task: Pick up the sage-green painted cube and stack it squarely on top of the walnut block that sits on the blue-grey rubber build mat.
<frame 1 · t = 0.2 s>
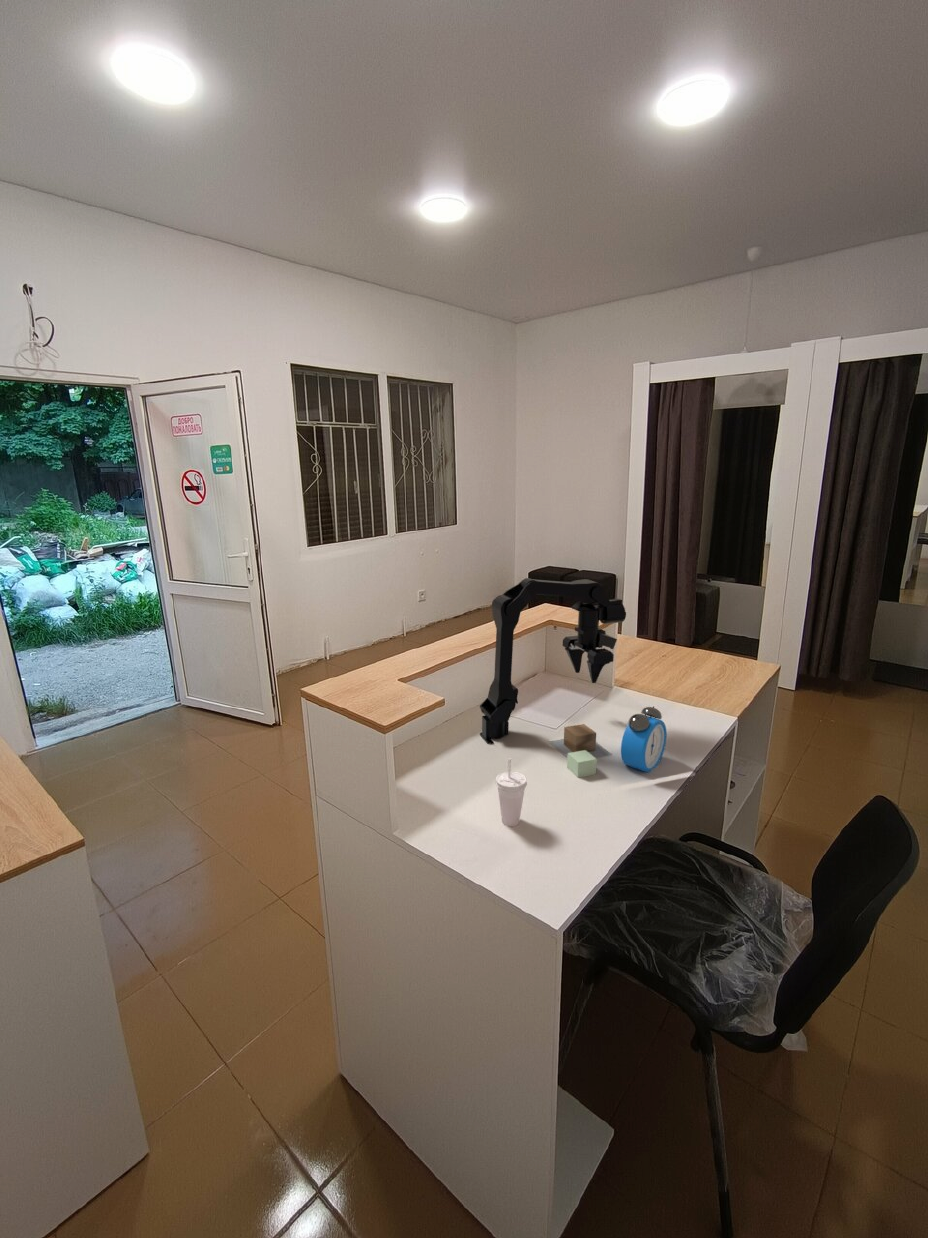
hand: (585, 677, 162), 15 cm above the table, fingers open, 9 cm apart
build mat: (579, 751, 149), on the table
smoothie: (510, 821, 118), on the table
alarm clock: (641, 768, 140), on the table
walnut block: (579, 747, 148), point 1 cm above the table, touching build mat
sage cube: (581, 775, 137), on the table
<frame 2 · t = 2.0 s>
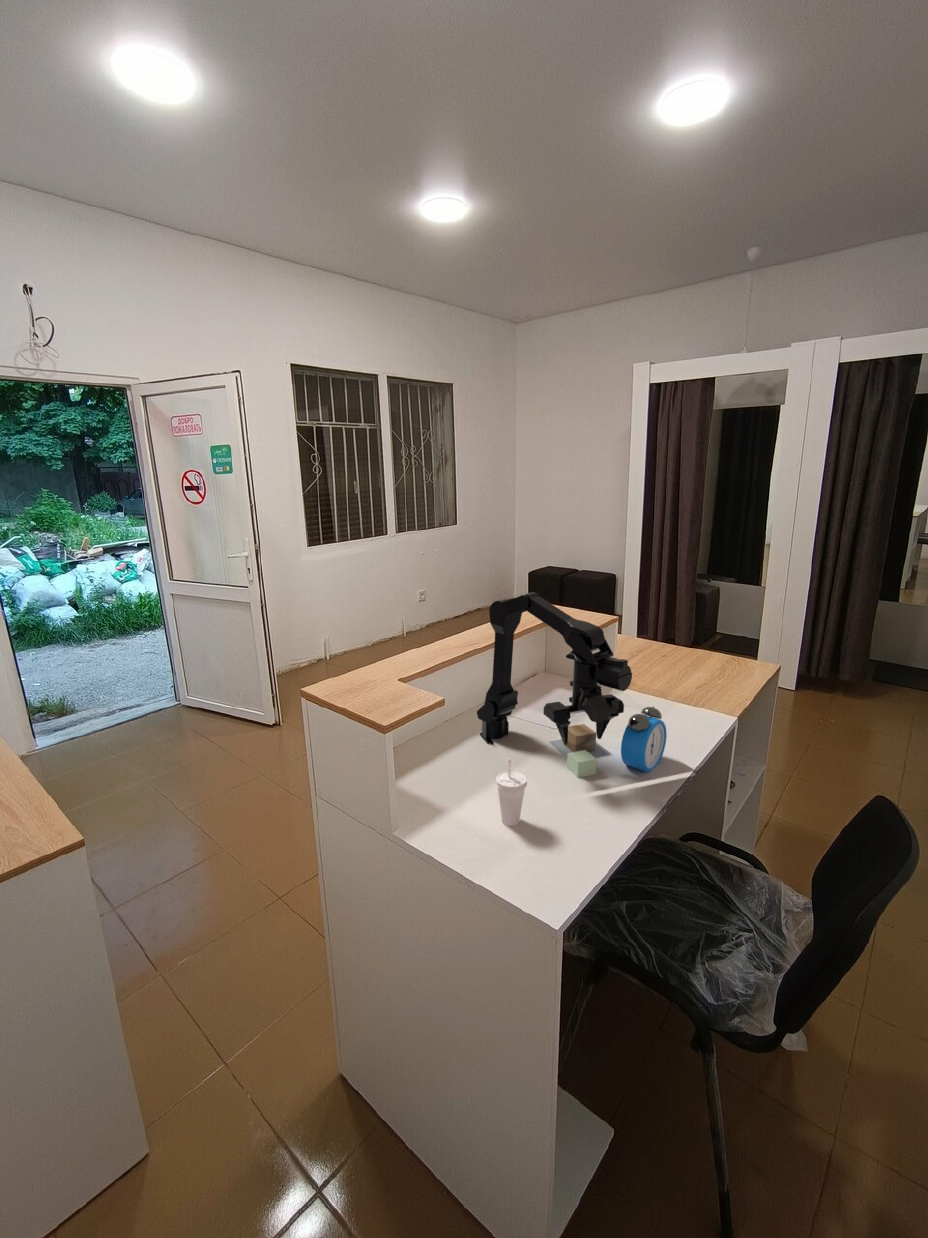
hand: (582, 741, 135), 9 cm above the table, fingers open, 9 cm apart
nothing on the table moved.
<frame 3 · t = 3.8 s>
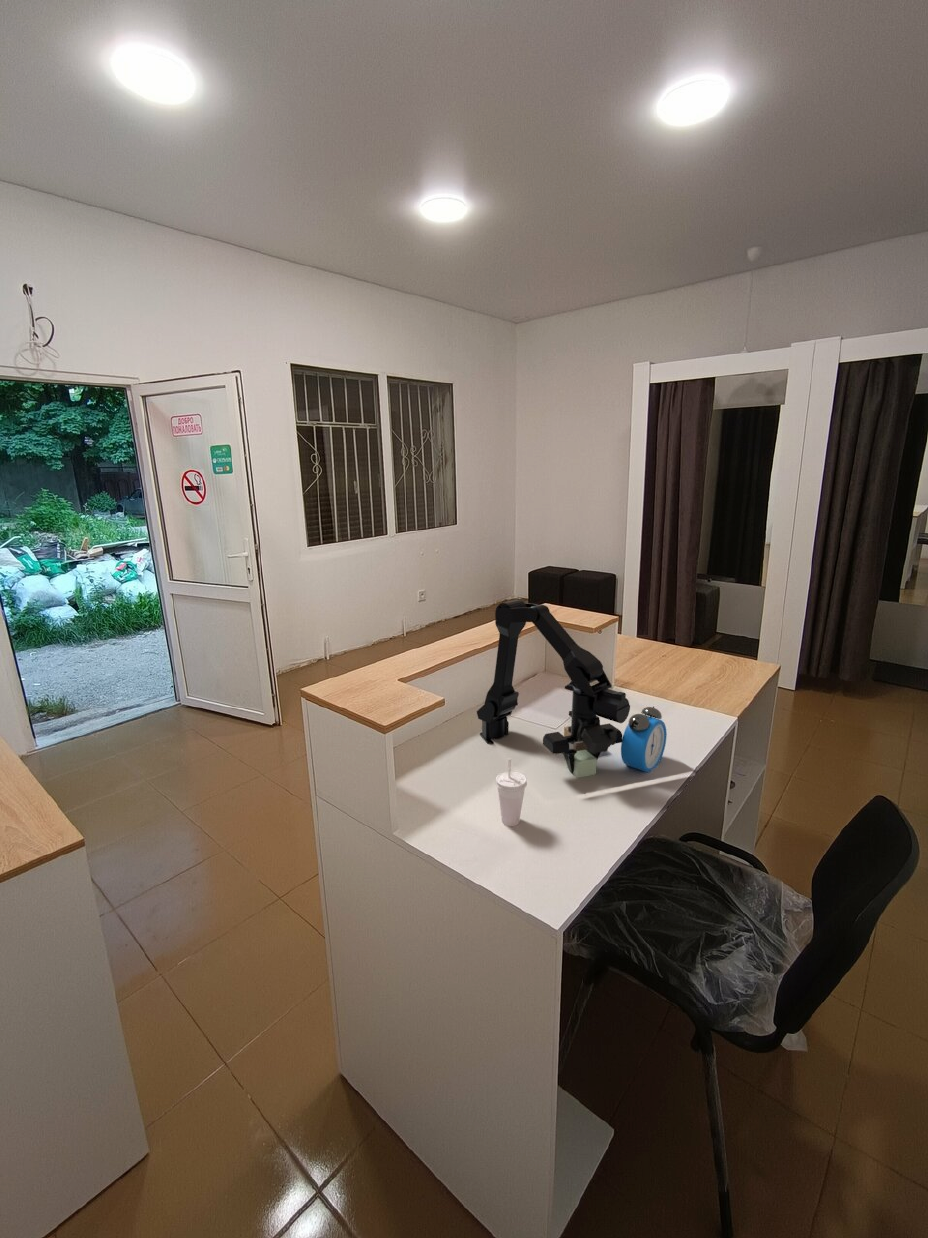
hand: (581, 770, 136), 1 cm above the table, fingers closed on sage cube, 5 cm apart
sage cube: (581, 774, 137), on the table, touching gripper
everything else where it was.
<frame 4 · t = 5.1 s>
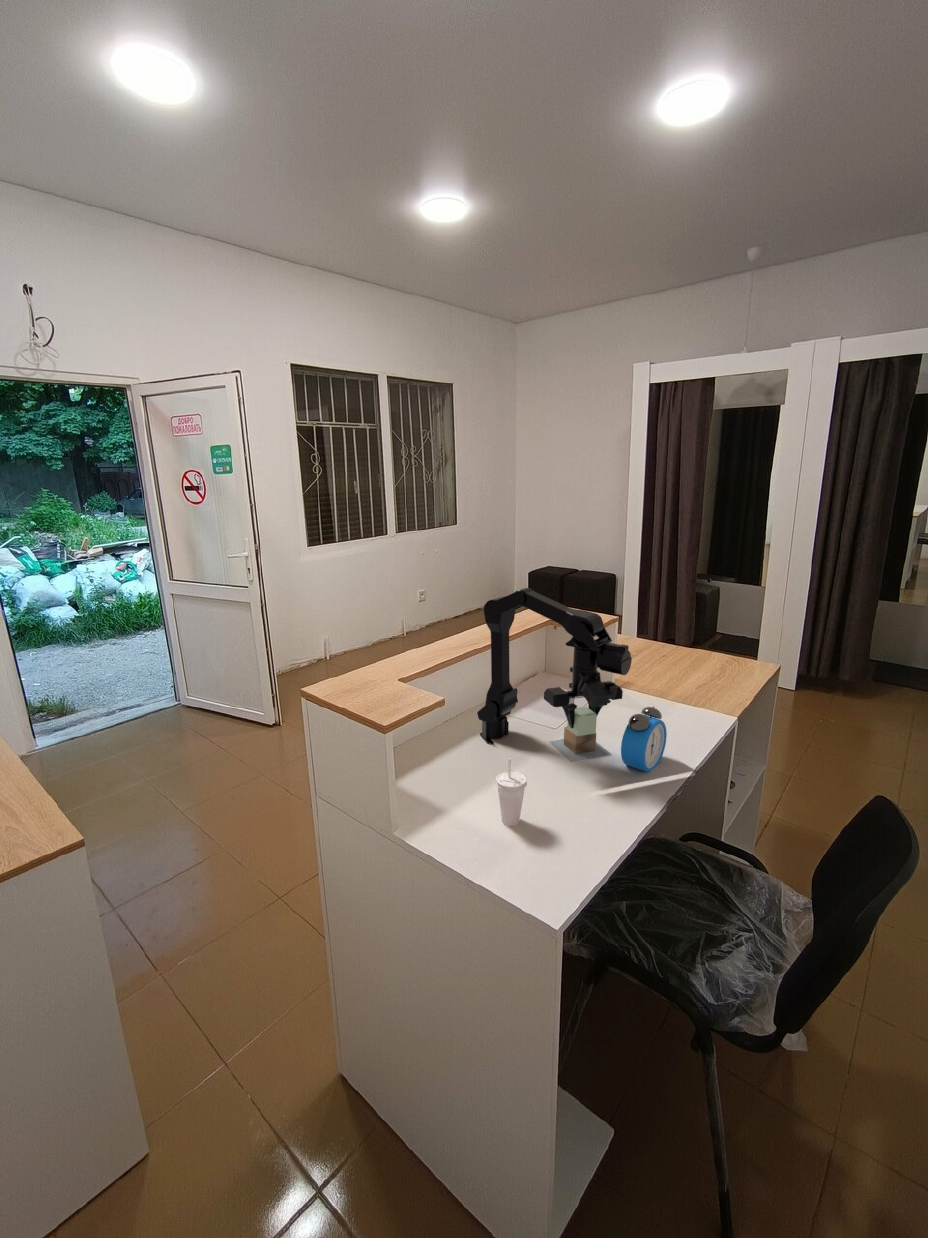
hand: (581, 726, 138), 11 cm above the table, fingers closed on sage cube, 5 cm apart
sage cube: (581, 730, 138), point 10 cm above the table, touching gripper
everything else where it was.
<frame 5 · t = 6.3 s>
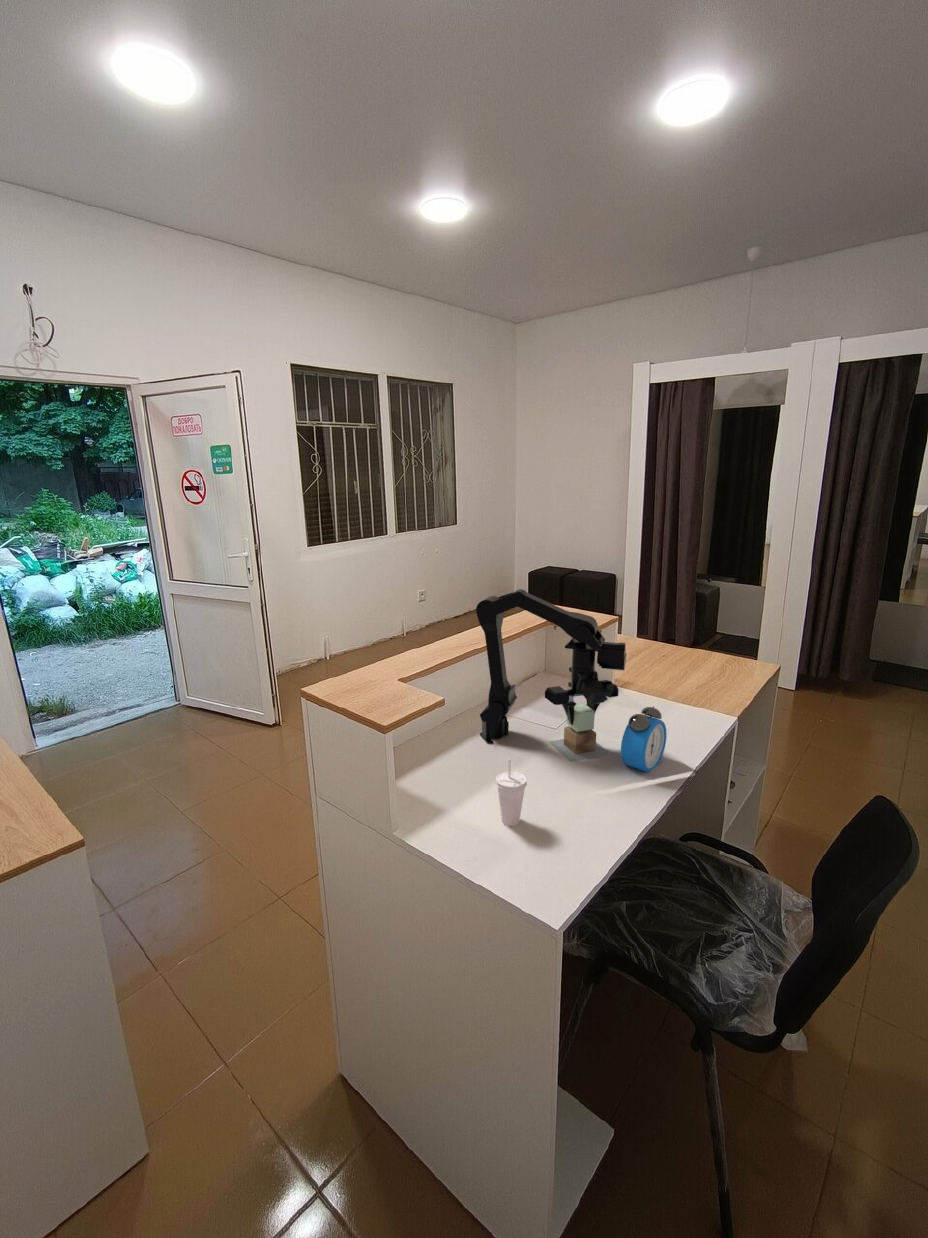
hand: (580, 722, 147), 8 cm above the table, fingers closed on sage cube, 5 cm apart
sage cube: (580, 726, 147), point 7 cm above the table, touching gripper
everything else where it was.
when the fingers open (8 cm above the table, at t = 6.9 s): sage cube stays where it is, resting on walnut block.
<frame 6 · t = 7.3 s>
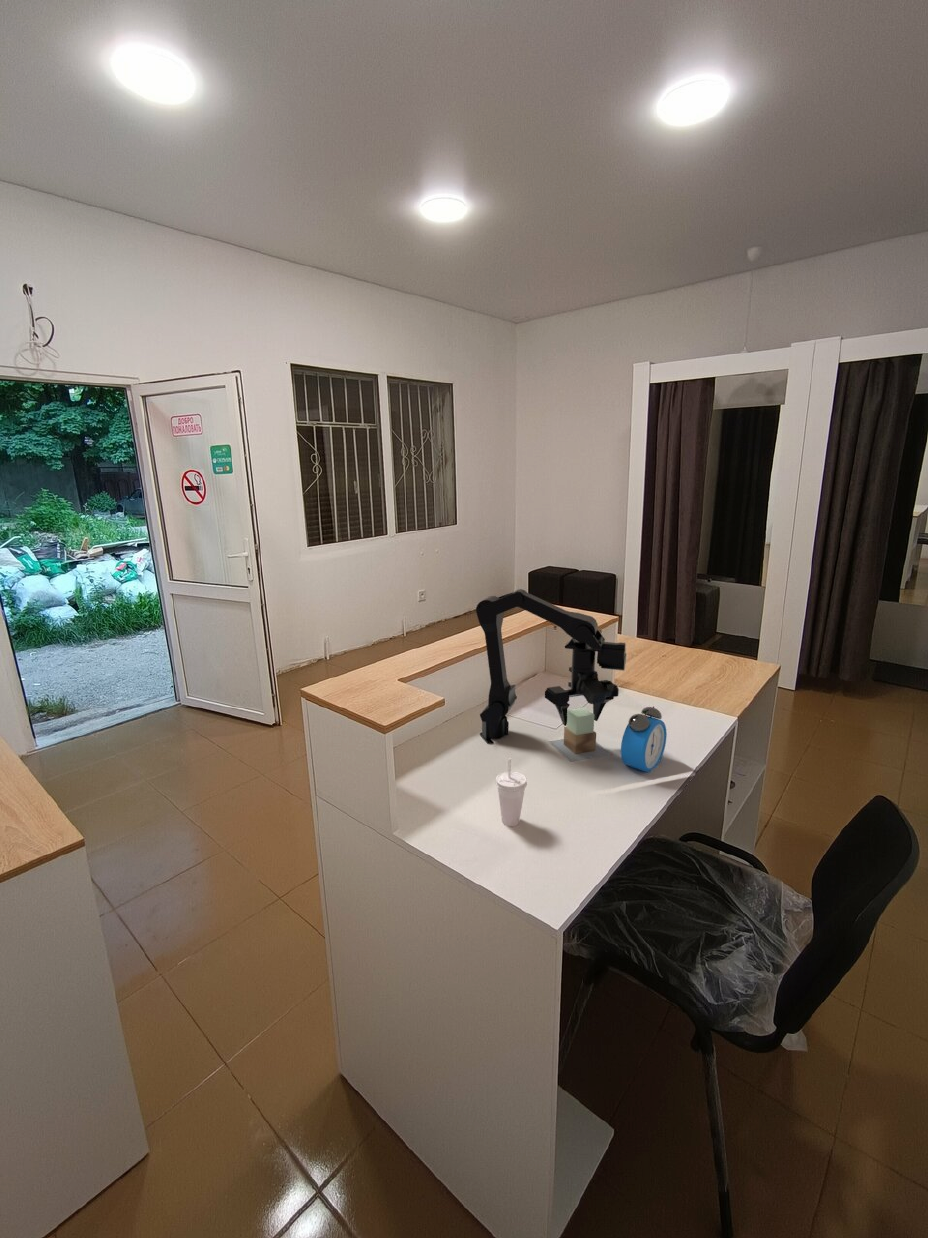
hand: (580, 722, 147), 8 cm above the table, fingers open, 9 cm apart
walnut block: (579, 747, 148), point 1 cm above the table, touching build mat, sage cube
sage cube: (579, 730, 147), point 6 cm above the table, touching walnut block
everything else where it was.
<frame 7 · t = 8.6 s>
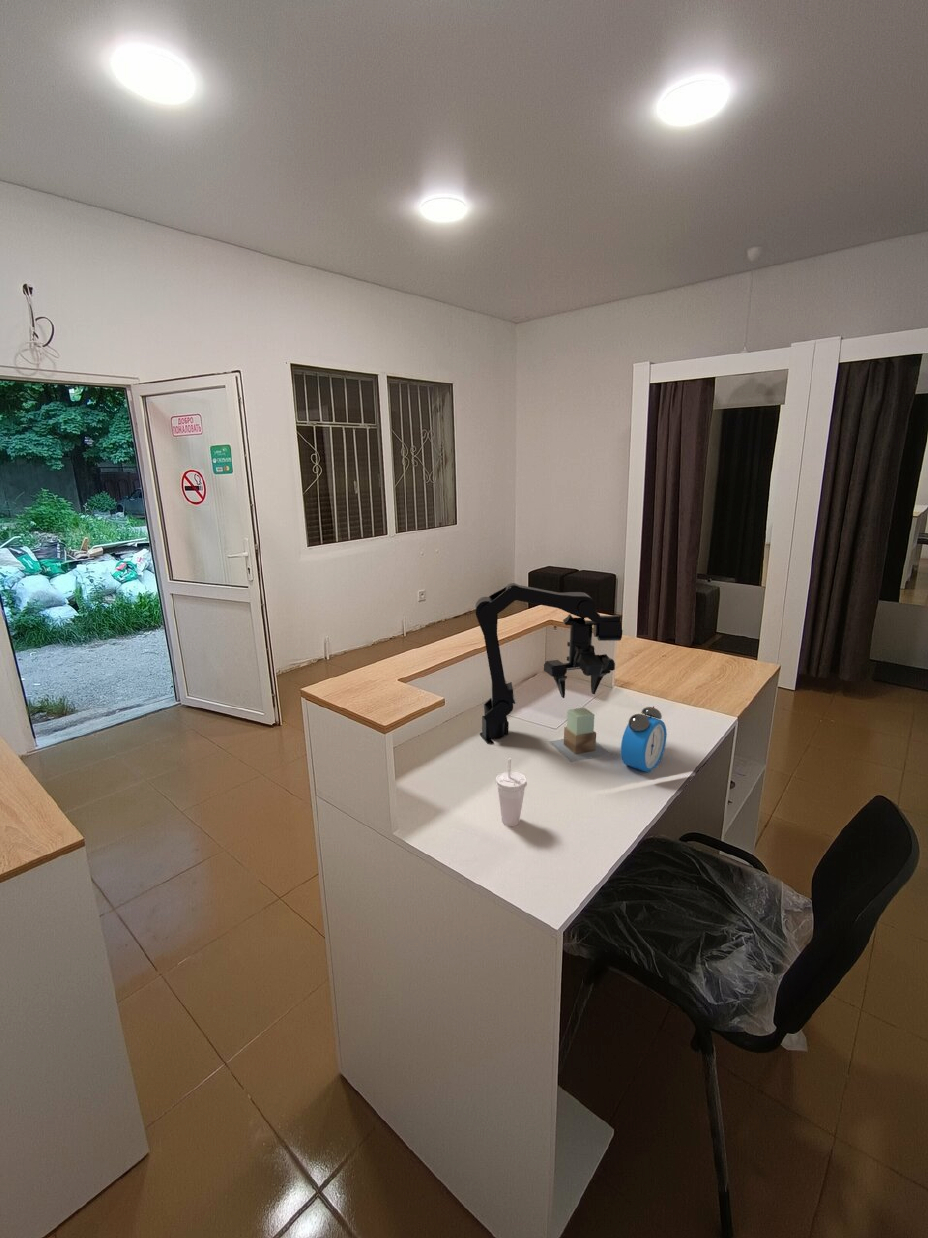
hand: (578, 695, 153), 12 cm above the table, fingers open, 9 cm apart
nothing on the table moved.
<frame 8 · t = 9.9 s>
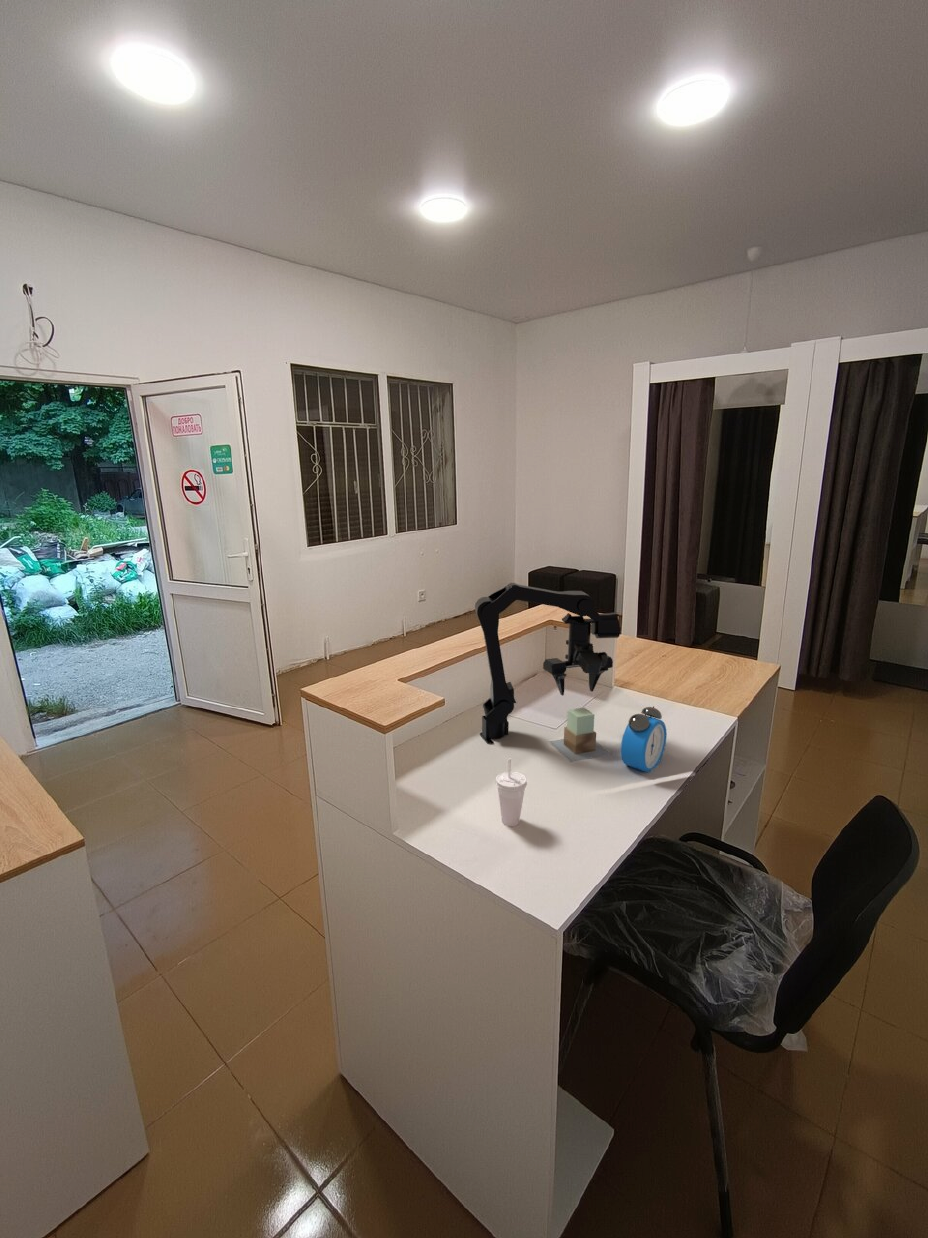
hand: (576, 693, 155), 12 cm above the table, fingers open, 9 cm apart
nothing on the table moved.
at the end: sage cube 0.1 cm off-centre on the walnut block, point 5.0 cm above the walnut block's base; sage cube tilted 0°; the gripper is holding nothing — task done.
